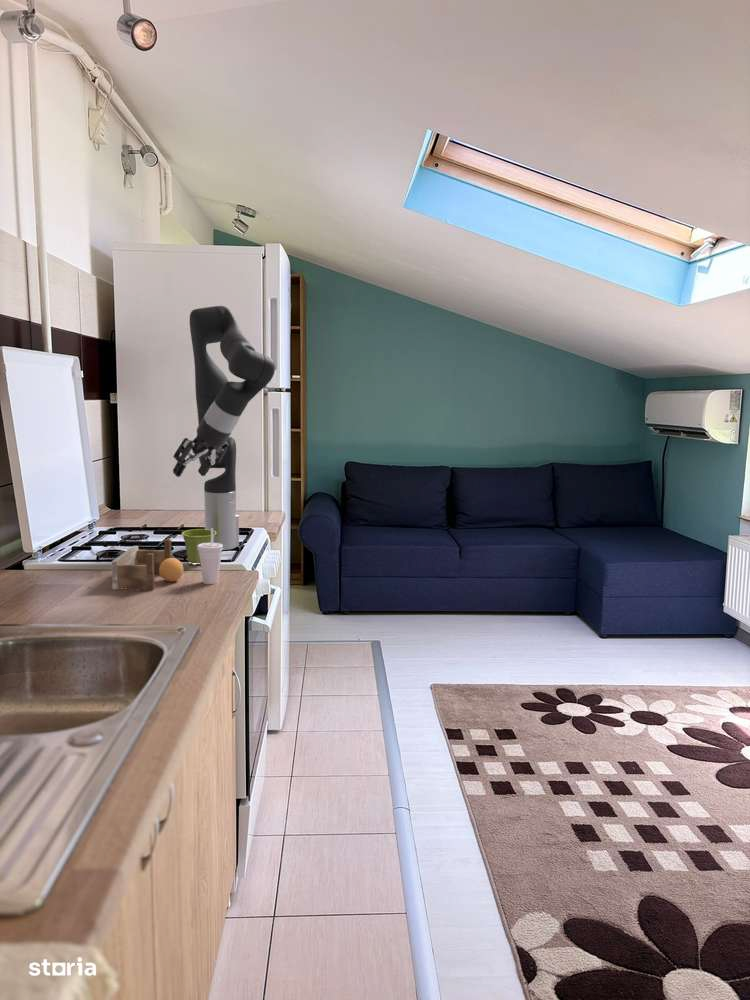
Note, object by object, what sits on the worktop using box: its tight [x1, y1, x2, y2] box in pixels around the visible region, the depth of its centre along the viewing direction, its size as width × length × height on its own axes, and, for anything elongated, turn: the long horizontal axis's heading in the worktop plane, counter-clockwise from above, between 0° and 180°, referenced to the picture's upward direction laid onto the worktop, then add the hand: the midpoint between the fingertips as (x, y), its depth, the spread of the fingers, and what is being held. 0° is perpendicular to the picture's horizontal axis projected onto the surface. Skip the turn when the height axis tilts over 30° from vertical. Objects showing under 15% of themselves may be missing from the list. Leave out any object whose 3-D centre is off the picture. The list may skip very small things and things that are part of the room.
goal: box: [111, 538, 172, 591], centre depth 206 cm, size 10×17×9 cm, turn 179°
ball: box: [158, 557, 184, 583], centre depth 206 cm, size 6×6×6 cm
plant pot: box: [181, 528, 216, 563], centre depth 225 cm, size 9×9×9 cm
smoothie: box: [197, 528, 223, 585], centre depth 205 cm, size 6×6×14 cm
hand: (188, 474), depth 201 cm, fingers open, 8 cm apart
